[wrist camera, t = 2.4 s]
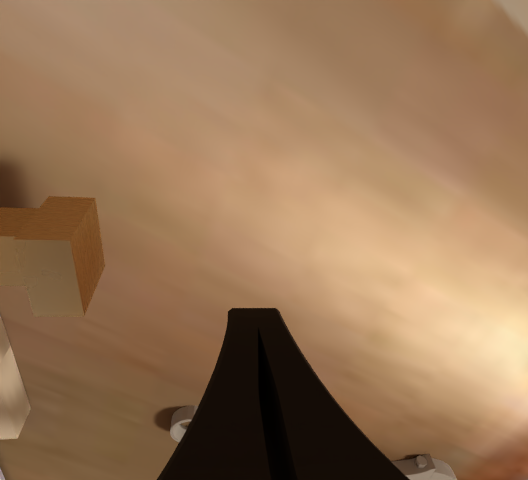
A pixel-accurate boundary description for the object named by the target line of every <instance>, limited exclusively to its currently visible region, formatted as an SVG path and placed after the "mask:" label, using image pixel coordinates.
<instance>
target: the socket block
mask: <svg viewBox="0 0 528 480" xmlns="http://www.w3.org/2000/svg"><path fill="white" fill-rule="evenodd" d="M30 409H31V407H30V404H29V401H28V397H27V394H26V391H25V388H24V385H23V382H22V379H21V376H20V373H19V370H18V367H17V364H16V361H15V358H14V355H13V352H12V349H11V346H10V343H9V340H8V337H7V333H6V330H5V327H4V324H3V321H2V318H1V315H0V439H17V438H18V436H19V434H20V432H21V429H22V427H23V425H24V423H25V420H26V418H27V416H28V414H29V412H30Z"/></svg>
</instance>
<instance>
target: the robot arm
mask: <svg viewBox="0 0 528 480" xmlns="http://www.w3.org/2000/svg"><path fill="white" fill-rule="evenodd" d="M0 480H5V478H4V476H3V473H2V471H1V469H0ZM157 480H410V479H409V478H408V477H407V476H406V475H405V474H403V473H402V472H401V471H400V470H399V469H398V468H397V467H396V466H395V465H394V464H393V463H392V462H391V461H390V460H389V459H388V458H387V457H386V456H385V455H384V454H383V453H382V452H381V451H380V450H379V449H378V448H377V447H376V446H375V445H374V444H373V443H372V442H371V441H370V440H369V439H368V438H367V437H366V435H365V434H364V433H363V432H362V431H361V430H360V429H359V428H358V427H357V426H356V425H355V423H354V422H353V421H352V420H351V419H350V418H349V416H348V415H347V414H346V413H345V412H344V410H343V409H342V408H341V407H340V406H339V404H338V403H337V402H336V401H335V399H334V398H333V397H332V395H331V394H330V393H329V391H328V390H327V389H326V387H325V386H324V385H323V383H322V382H321V381H320V379H319V378H318V376H317V375H316V373H315V372H314V371H313V369H312V368H311V366H310V364H309V363H308V361H307V360H306V358H305V357H304V355H303V354H302V352H301V351H300V349H299V347H298V346H297V344H296V342H295V341H294V339H293V337H292V335H291V334H290V332H289V330H288V328H287V326H286V324H285V322H284V320H283V318H282V316H281V314H280V312H279V311H278V310H277V309H276V308H232V309H231V310H229V311H228V323H227V329H226V334H225V338H224V341H223V345H222V348H221V351H220V354H219V357H218V360H217V363H216V366H215V369H214V371H213V374H212V376H211V379H210V381H209V383H208V386H207V388H206V391H205V393H204V395H203V398H202V400H201V402H200V404H199V406H198V408H197V410H196V412H195V414H194V416H193V418H192V420H191V422H190V424H189V426H188V428H187V430H186V432H185V433H184V435H183V437H182V439H181V441H180V442H179V444H178V446H177V448H176V449H175V451H174V453H173V455H172V456H171V458H170V460H169V461H168V463H167V465H166V466H165V468H164V469H163V471H162V473H161V474H160V476H159V477H158V479H157Z"/></svg>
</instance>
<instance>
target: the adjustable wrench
mask: <svg viewBox="0 0 528 480" xmlns="http://www.w3.org/2000/svg"><path fill="white" fill-rule="evenodd" d="M197 408H198V406H186V407H182V408H180V409H178V410H176V411H175V412H174V413H173V416H172V420H171V429H170V434H171V436H172V438H173V439H174V440H176V441H177V442H180V441H181V439H182V437H183V435H184V433H185V432H186V430H187V428H188V427H185V426H183V425H181V423H183V422H187V421H191V420H192V418H193V416H194V414H195V412H196V410H197ZM391 462H392V463H393V464H394V465H395V466H396V467H397V468H398V469H399V470H400V471H401V472H402V473H403V474H405V475H406V476H407V477H408V478H409V479H410V480H457V479H456V477H455V475H454V472H453V470H452V469H451V467H450V466H449V465H448V464H446V463H445V462H443V461H440V460H437V459H434V458H431V456H430V454H425V455H422V456H421V455H419V456H417V457H416V458H413V459H408V460H400V461H391Z"/></svg>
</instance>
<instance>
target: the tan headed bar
mask: <svg viewBox="0 0 528 480" xmlns="http://www.w3.org/2000/svg"><path fill="white" fill-rule="evenodd" d="M104 267H105V262H104V255H103V248H102V241H101V234H100V227H99V220H98V213H97V206H96V199H95V198H84V197H52V196H49V197H48V198H47V199H46V200H45V202H44V203H43V204H42V205H41V206H40V208H3V207H0V286H26V289H27V293H28V297H29V300H30V304H31V307H32V311H33V315H34V317H41V316H85V313H86V311H87V308H88V306H89V303H90V301H91V299H92V296H93V294H94V291H95V289H96V287H97V284H98V282H99V279H100V277H101V274H102V272H103V270H104Z"/></svg>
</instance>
